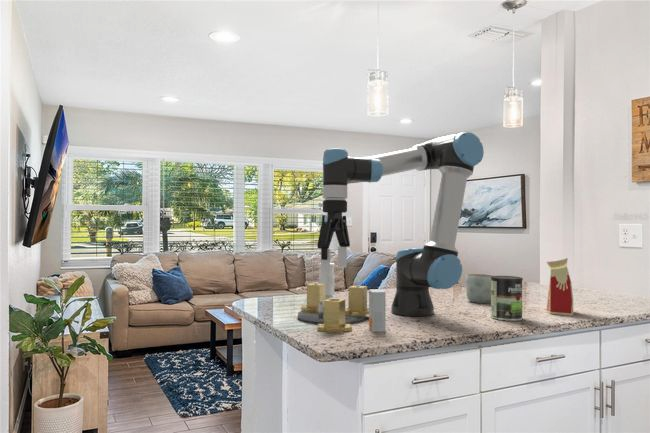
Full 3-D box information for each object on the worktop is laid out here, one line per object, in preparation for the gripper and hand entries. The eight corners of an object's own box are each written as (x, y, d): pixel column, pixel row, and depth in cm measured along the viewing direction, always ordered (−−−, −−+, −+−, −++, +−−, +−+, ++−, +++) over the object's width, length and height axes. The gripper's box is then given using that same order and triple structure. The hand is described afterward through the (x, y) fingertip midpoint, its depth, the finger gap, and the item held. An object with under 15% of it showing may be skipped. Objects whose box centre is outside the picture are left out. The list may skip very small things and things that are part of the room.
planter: (501, 304, 206) (501, 277, 206) (470, 304, 206) (470, 277, 206) (491, 299, 219) (491, 273, 219) (462, 299, 219) (462, 273, 219)
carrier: (379, 315, 182) (379, 283, 182) (357, 327, 161) (357, 291, 161) (309, 309, 193) (309, 279, 193) (280, 320, 172) (280, 287, 172)
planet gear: (358, 327, 161) (358, 298, 161) (345, 334, 151) (345, 304, 151) (324, 324, 166) (324, 296, 166) (310, 331, 155) (310, 301, 155)
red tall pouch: (573, 311, 191) (573, 257, 191) (573, 316, 182) (573, 259, 182) (546, 309, 194) (546, 256, 194) (545, 313, 186) (545, 258, 186)
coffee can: (529, 319, 175) (529, 277, 175) (507, 322, 171) (507, 279, 171) (505, 314, 184) (505, 275, 184) (484, 317, 180) (484, 276, 180)
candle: (317, 299, 216) (317, 264, 216) (319, 297, 223) (320, 262, 223) (333, 300, 215) (333, 264, 215) (335, 297, 222) (335, 262, 222)
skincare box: (368, 327, 161) (368, 289, 161) (382, 327, 161) (382, 289, 161) (371, 332, 155) (372, 292, 155) (386, 331, 155) (386, 291, 155)
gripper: (338, 201, 171) (337, 265, 171) (306, 197, 148) (305, 271, 148) (360, 201, 168) (359, 266, 168) (330, 197, 146) (329, 273, 145)
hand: (334, 269), depth 158 cm, fingers open, 13 cm apart
